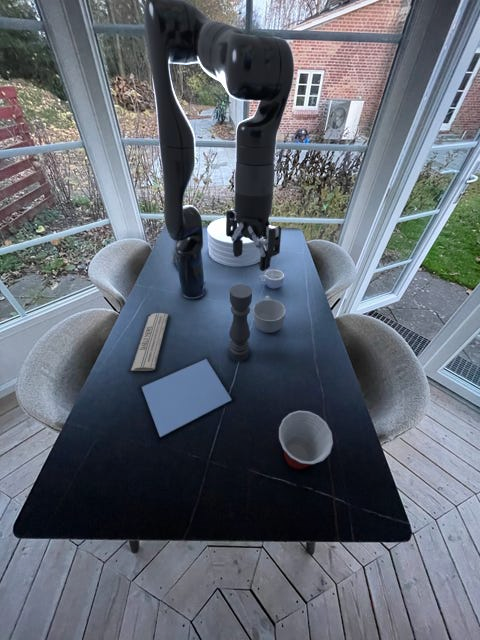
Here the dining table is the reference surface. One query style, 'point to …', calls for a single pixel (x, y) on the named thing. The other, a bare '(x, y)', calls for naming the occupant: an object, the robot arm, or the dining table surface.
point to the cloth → (184, 396)
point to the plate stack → (230, 246)
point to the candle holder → (240, 321)
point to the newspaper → (150, 343)
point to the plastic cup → (304, 439)
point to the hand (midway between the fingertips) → (250, 262)
